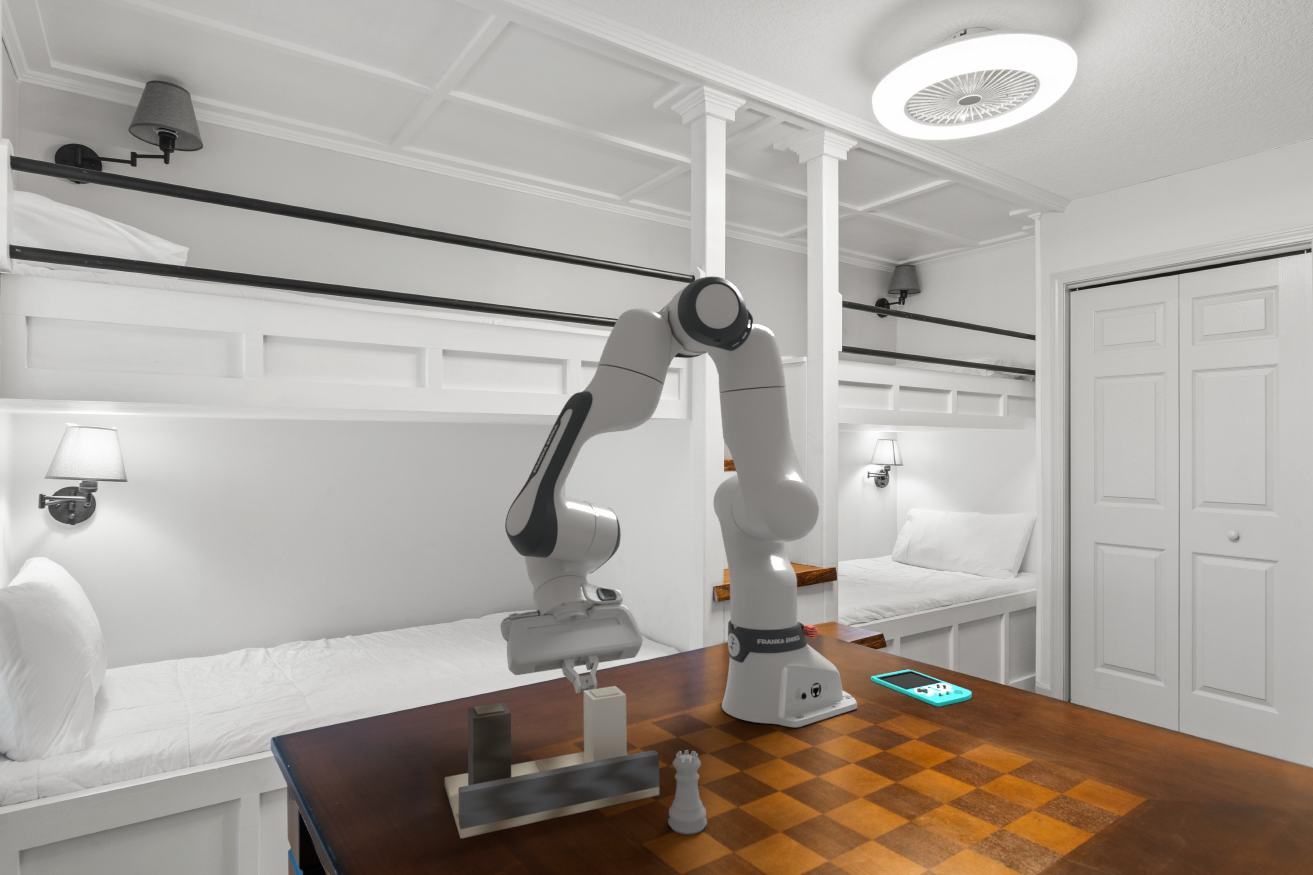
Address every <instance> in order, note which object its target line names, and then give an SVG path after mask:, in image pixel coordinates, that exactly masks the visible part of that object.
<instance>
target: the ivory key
mask: <svg viewBox="0 0 1313 875" xmlns="http://www.w3.org/2000/svg"><path fill="white" fill-rule="evenodd" d="M627 743H628V741H627V694H626V693H625V692H624V691H622V690H621V689H620V688H618V687H617V686H616V685H613V686H605V687H600V688H597V689H592V690H585V691H584V692H583V752H584V763H589V762H594V761H599V760H604V759H609V758H615V757H620V756H625V755H627V753H628V750H627V746H628V745H627Z"/></svg>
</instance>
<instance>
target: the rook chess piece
mask: <svg viewBox="0 0 1313 875" xmlns="http://www.w3.org/2000/svg"><path fill="white" fill-rule="evenodd" d="M683 751H684V752H683ZM683 751H682V750H679V751H677V753H675V759H674V760H673V761H672V766H673V767H674V768H675V771H676V773H675V775H674V778H675V780H676V788H675V789H676V790H675V795H674V800H673V801H672V805H671V806H670V807H669V810H668V817H669V818H668V819H667V821H668V822H667V823H668V825H669V826H670V828H671V829H672V830H673V832H675V833H678V834H682V835H684V836H685V835H689V836H690V835H695V834H699V833H700V832H702V831H703V830H704V829H705V827H706V825H707V824H708V819H707V818H706V817H707V811H706V807H705V806H704V805H703V801H702V800H701V798H700V791H699V786H698V785H699V784H698V781H699V779H700V775H699V773H698V770H699V768H700V767H701V766H702V762H701V760H700V758H699V754H698V753H697V752H696V750H692V751H691V752H690V751H689V749H684V750H683ZM689 752H690V753H689Z"/></svg>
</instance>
